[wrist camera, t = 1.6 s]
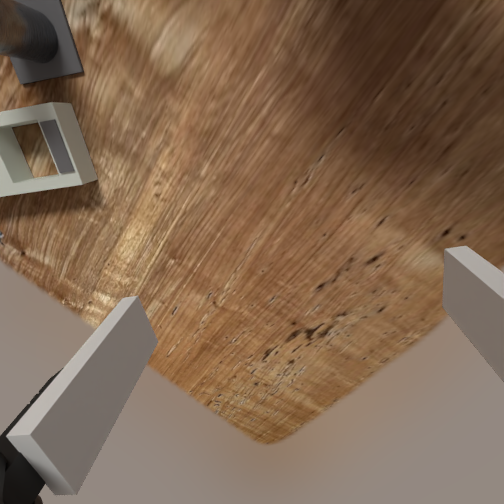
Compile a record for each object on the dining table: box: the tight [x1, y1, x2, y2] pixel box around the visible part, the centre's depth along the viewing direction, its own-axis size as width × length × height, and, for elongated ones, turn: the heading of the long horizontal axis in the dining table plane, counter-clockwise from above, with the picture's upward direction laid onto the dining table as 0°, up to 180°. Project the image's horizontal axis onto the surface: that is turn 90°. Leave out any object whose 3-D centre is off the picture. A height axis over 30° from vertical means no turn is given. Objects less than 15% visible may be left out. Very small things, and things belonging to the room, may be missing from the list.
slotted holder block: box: [0, 102, 98, 197], centre depth 33 cm, size 8×18×3 cm, turn 99°
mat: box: [10, 0, 84, 84], centre depth 29 cm, size 7×7×1 cm
